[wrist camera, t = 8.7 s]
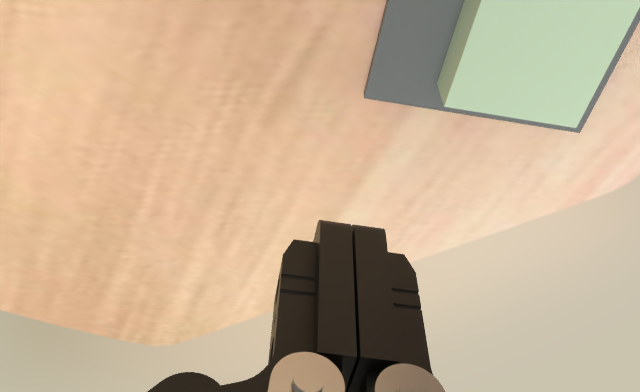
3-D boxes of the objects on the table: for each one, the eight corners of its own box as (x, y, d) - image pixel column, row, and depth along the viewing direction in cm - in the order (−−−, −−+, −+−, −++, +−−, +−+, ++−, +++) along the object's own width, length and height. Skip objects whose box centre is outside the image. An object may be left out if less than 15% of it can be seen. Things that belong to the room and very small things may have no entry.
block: (529, -139, 29) (697, -104, 29) (513, -149, 31) (669, -116, 32) (444, 106, 37) (576, 128, 38) (436, 83, 40) (560, 103, 41)
